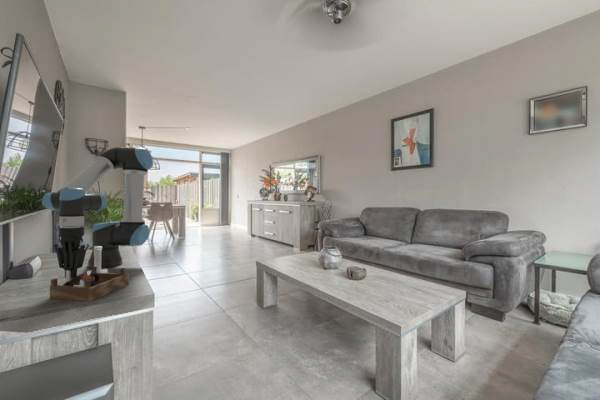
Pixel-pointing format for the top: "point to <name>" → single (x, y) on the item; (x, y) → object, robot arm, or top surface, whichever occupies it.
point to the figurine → (98, 260)
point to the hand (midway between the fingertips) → (70, 285)
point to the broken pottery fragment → (84, 277)
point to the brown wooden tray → (88, 293)
